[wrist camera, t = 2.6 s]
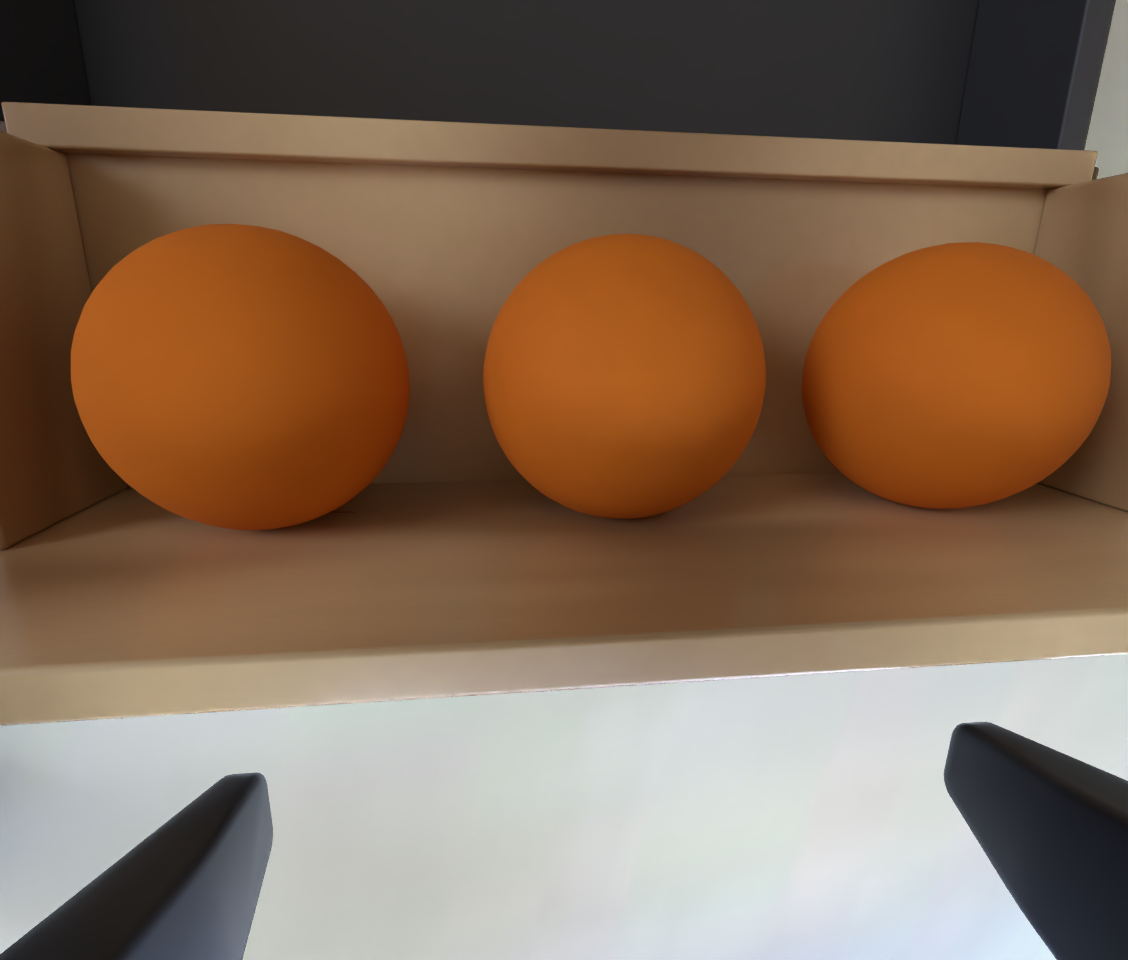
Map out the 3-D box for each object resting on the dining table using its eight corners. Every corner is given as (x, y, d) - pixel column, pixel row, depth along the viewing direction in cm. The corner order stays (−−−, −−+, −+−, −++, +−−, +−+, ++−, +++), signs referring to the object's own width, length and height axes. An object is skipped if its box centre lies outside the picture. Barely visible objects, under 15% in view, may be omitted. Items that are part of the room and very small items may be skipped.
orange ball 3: (744, 435, 11) (846, 568, 8) (793, 216, 9) (952, 279, 6) (932, 433, 11) (1098, 556, 8) (1017, 223, 9) (1273, 284, 6)
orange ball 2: (485, 439, 10) (487, 583, 7) (479, 207, 8) (478, 271, 5) (693, 436, 10) (777, 571, 8) (732, 214, 9) (861, 277, 6)
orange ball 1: (198, 444, 10) (71, 601, 7) (123, 196, 8) (-100, 261, 5) (429, 440, 10) (406, 587, 7) (410, 205, 8) (369, 269, 5)
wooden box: (118, 510, 10) (-312, 749, 4) (43, 119, 8) (-729, -209, 3) (987, 487, 12) (1408, 638, 6) (1052, 162, 10) (1674, 3, 5)
